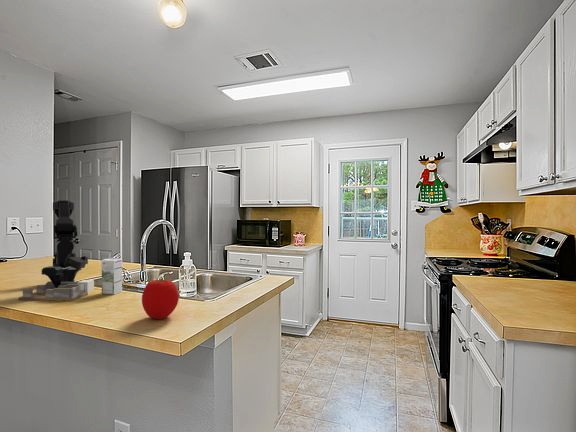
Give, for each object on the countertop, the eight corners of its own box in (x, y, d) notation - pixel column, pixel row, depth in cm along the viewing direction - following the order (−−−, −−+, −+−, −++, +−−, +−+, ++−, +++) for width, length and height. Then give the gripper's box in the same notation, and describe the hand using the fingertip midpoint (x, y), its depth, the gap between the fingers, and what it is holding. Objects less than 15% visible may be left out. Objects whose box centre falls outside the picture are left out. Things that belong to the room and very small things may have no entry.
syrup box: (122, 291, 138) (122, 257, 137) (113, 295, 132) (113, 259, 132) (110, 291, 138) (110, 257, 138) (100, 294, 132) (100, 259, 132)
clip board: (37, 294, 132) (37, 283, 132) (87, 294, 132) (87, 284, 131) (18, 300, 123) (18, 288, 123) (72, 300, 123) (72, 289, 122)
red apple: (134, 318, 103) (134, 279, 103) (164, 310, 112) (164, 274, 112) (155, 326, 97) (155, 283, 97) (185, 316, 106) (185, 277, 106)
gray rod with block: (44, 292, 136) (44, 281, 136) (52, 289, 140) (52, 279, 140) (87, 292, 135) (87, 282, 135) (94, 290, 140) (94, 280, 140)
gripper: (67, 254, 128) (67, 293, 128) (96, 249, 147) (96, 283, 147) (40, 254, 128) (40, 292, 128) (72, 248, 147) (72, 282, 147)
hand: (64, 287), depth 138 cm, fingers open, 7 cm apart
